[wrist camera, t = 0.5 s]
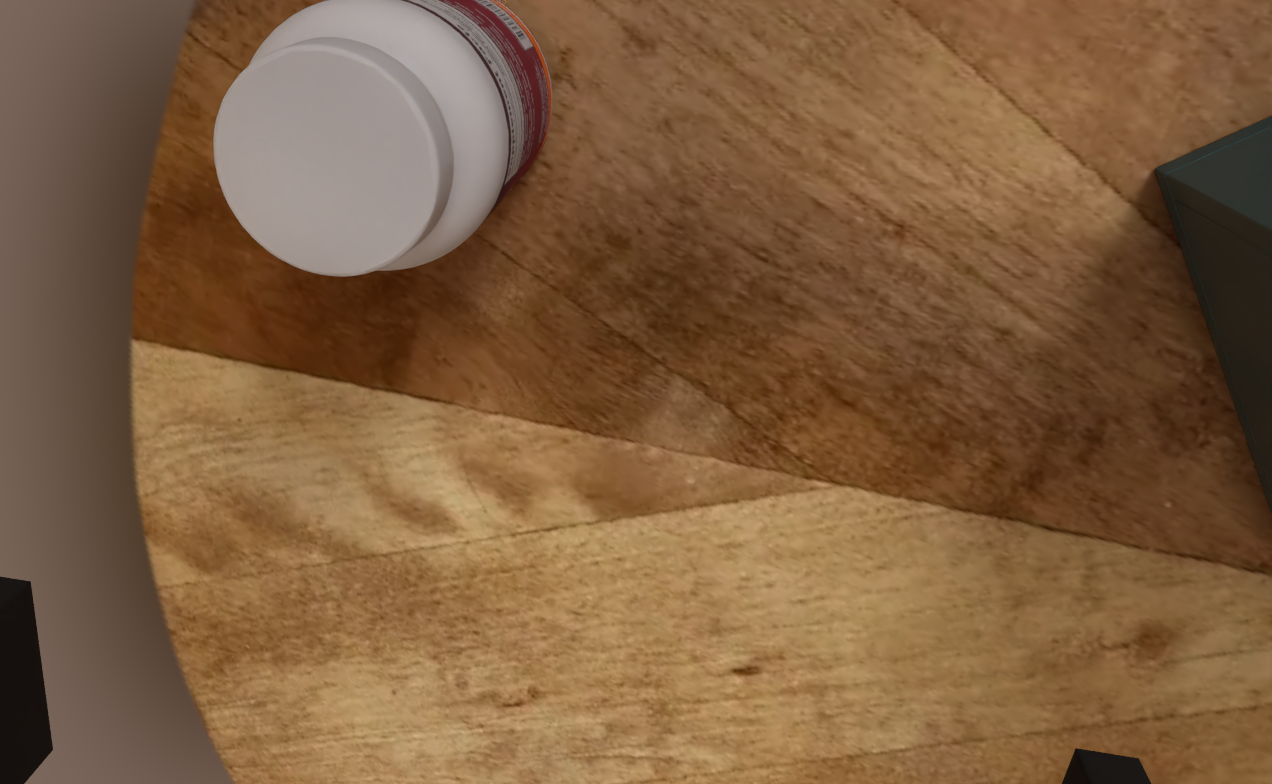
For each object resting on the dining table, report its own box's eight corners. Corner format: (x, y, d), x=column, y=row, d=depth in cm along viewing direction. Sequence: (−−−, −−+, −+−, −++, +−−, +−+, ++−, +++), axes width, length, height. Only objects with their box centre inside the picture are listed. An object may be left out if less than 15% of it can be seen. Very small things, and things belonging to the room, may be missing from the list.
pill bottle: (373, 203, 32) (211, 321, 22) (333, -8, 30) (131, 16, 20) (569, 189, 32) (493, 304, 21) (545, -28, 29) (446, -13, 19)
